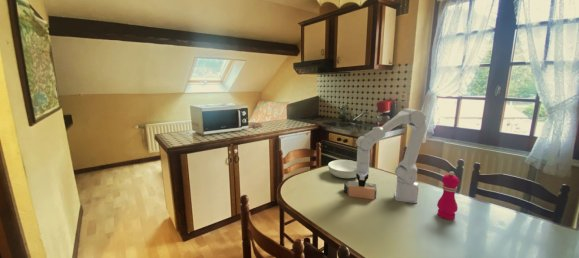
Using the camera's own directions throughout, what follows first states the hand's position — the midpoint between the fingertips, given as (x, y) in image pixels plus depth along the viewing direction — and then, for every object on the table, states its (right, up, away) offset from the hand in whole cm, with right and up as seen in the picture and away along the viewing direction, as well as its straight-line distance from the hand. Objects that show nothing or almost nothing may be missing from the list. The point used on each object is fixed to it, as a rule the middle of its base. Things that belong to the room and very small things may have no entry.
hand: (361, 188), depth 116 cm
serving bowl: (-1, 0, +32) cm, 32 cm away
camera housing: (+2, -5, +7) cm, 9 cm away
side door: (0, -5, +2) cm, 6 cm away
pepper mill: (+32, -9, -13) cm, 36 cm away
